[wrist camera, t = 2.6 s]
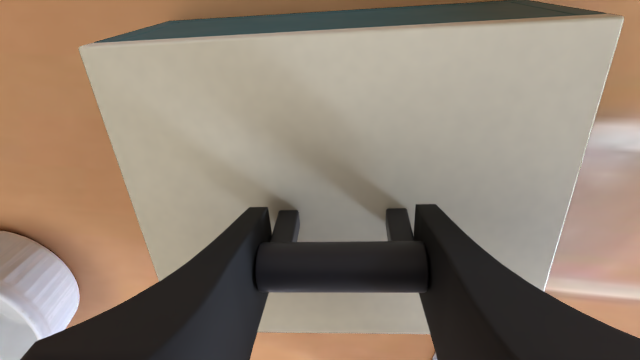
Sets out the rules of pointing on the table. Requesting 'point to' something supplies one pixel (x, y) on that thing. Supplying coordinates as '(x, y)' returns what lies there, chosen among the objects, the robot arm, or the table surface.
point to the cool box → (351, 19)
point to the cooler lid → (356, 151)
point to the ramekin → (32, 294)
